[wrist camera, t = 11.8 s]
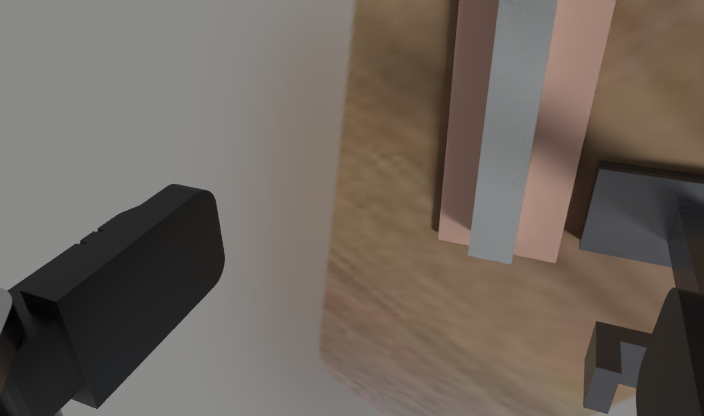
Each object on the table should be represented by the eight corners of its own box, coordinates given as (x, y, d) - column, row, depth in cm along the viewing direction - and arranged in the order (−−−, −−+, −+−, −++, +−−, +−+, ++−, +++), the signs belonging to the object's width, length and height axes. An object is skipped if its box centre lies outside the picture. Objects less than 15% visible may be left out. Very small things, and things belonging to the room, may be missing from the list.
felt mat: (490, -327, 21) (488, -331, 20) (696, -354, 19) (698, -361, 18) (440, 234, 34) (438, 239, 34) (556, 257, 32) (555, 263, 31)
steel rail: (544, -301, 20) (538, -321, 18) (614, -310, 19) (615, -331, 17) (475, 233, 32) (467, 255, 30) (516, 241, 32) (511, 264, 30)
